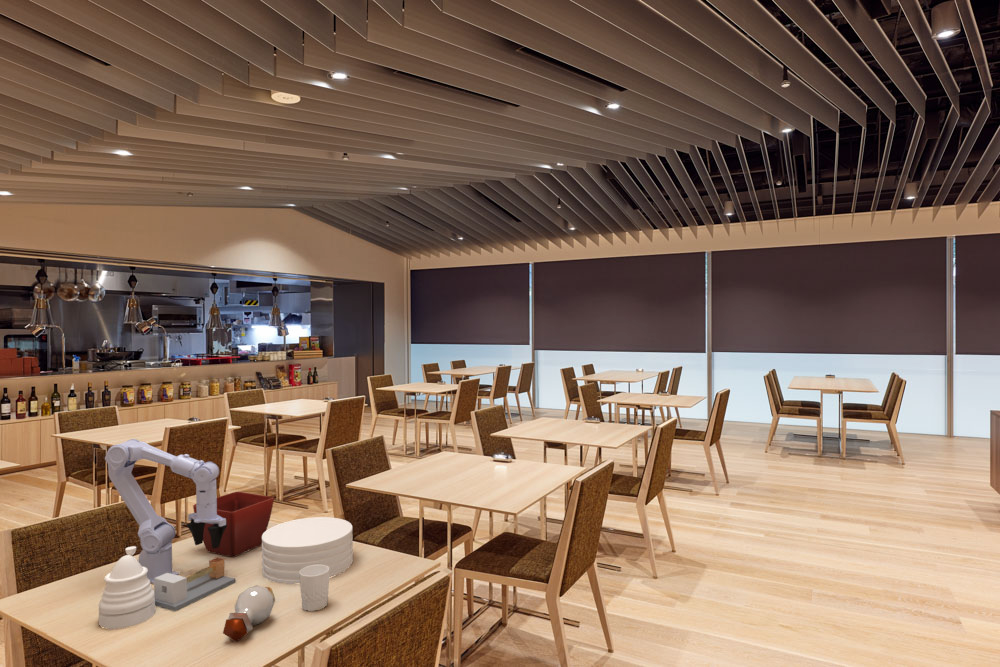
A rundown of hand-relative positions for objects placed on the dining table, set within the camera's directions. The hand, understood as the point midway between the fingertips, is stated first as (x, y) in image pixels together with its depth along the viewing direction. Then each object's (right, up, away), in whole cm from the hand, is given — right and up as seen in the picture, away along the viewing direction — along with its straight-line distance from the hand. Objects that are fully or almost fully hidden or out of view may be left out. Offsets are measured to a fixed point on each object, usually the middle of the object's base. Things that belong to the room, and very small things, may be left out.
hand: (207, 545), depth 187 cm
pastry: (+24, -10, -19) cm, 32 cm away
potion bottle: (+27, -10, -33) cm, 43 cm away
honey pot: (-9, -10, -26) cm, 29 cm away
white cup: (+40, -10, -21) cm, 46 cm away
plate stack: (+29, -9, +8) cm, 32 cm away
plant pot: (-1, -9, +23) cm, 25 cm away
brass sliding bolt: (+3, -8, -8) cm, 12 cm away
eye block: (+1, -10, -11) cm, 15 cm away
